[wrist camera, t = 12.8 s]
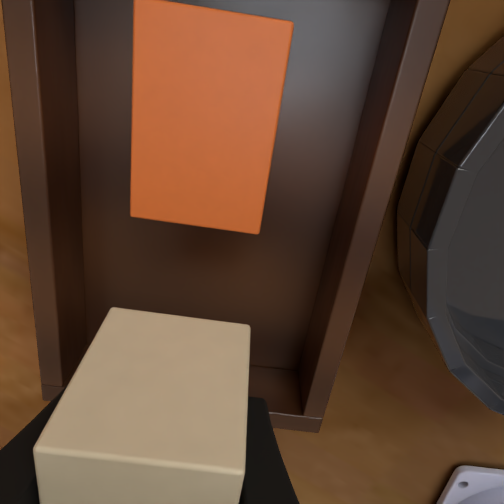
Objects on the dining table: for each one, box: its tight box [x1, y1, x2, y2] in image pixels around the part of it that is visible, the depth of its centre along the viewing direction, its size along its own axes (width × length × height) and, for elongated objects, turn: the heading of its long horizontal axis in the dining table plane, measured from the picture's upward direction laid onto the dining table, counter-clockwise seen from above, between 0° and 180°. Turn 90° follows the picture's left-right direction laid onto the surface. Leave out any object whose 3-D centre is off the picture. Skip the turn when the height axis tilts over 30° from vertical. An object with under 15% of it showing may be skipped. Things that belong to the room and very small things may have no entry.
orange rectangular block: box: [130, 0, 294, 234], centre depth 12 cm, size 5×3×4 cm
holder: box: [1, 0, 450, 433], centre depth 14 cm, size 16×11×3 cm
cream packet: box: [33, 307, 251, 504], centre depth 10 cm, size 5×3×4 cm
